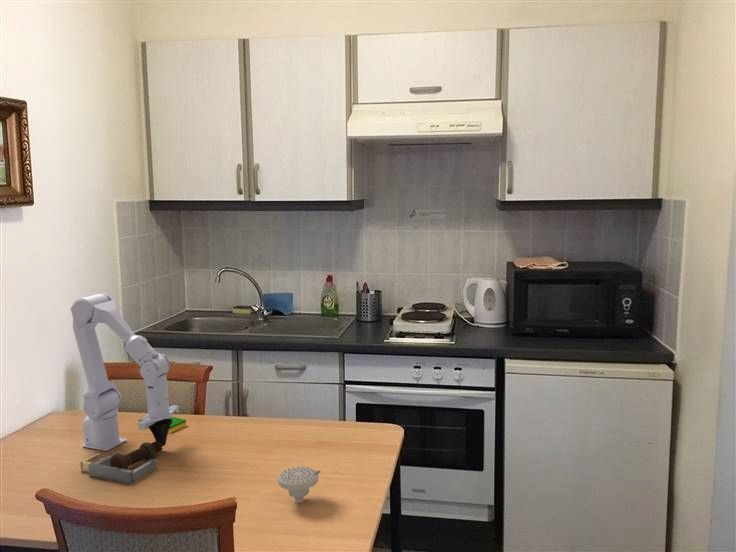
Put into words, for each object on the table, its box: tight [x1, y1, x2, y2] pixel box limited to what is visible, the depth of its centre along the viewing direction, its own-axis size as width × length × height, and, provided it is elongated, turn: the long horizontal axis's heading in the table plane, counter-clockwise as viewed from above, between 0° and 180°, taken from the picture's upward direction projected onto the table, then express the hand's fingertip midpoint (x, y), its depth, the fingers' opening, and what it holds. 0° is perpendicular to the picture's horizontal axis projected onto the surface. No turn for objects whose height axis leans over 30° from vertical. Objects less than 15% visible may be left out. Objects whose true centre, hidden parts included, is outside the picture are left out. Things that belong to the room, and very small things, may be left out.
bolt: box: [110, 440, 164, 470], centre depth 177 cm, size 6×5×15 cm
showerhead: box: [277, 466, 322, 504], centre depth 153 cm, size 9×7×10 cm
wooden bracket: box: [79, 452, 111, 473], centre depth 175 cm, size 5×6×2 cm
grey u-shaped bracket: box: [88, 452, 157, 486], centre depth 171 cm, size 14×10×3 cm
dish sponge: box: [137, 416, 187, 434], centre depth 204 cm, size 7×14×2 cm, turn 60°
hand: (161, 445), depth 185 cm, fingers closed
